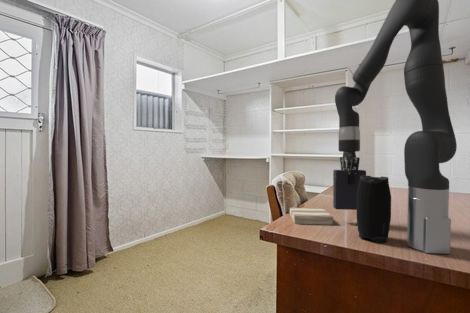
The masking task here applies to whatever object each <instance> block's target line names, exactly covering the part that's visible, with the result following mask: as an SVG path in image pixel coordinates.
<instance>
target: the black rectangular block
mask: <svg viewBox="0 0 470 313" xmlns="http://www.w3.org/2000/svg"><path fill="white" fill-rule="evenodd" d="M332 172H333V173H332V177H333V179H332V180H333V183H332V184H333V186H332V187H333V189H332V192H333V197H332V199H333V200H332V202H333V203H332V205H333V206H332V207H333V209H335V210H344V211H345V210H346V211H349V210H352V211H353V210H354V211H355V210H356V211H357V190H358V185H359V180H360V176H367V171H366V170H364V169H358V173H356V174H355V184H354V185H351V184H348V170H341V169H333V171H332Z"/></svg>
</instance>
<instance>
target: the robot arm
mask: <svg viewBox="0 0 470 313" xmlns="http://www.w3.org/2000/svg"><path fill="white" fill-rule="evenodd" d="M439 20H440V5H439V0H395V1H394V3H393V4H392V6H391V8H390V9H389V11H388V14H387V16H386V18H385V19H384V22H383V23H382V26H380V29H379V31H378V33H377V36H376V37H375V39H374V41H373V44H372V45H371V47H370V49H369V51H368V52H367V53H366V55H365V57H363V59H362V61H361V62H360V64H359V65H358V66H357V68H356V70H355V71H354V73H353V75H352V80H353V81H354V86H347V85H344V86H340V87H339V88H338V89H337V91H335V92H336V93H335V95H334V103H335V107H336V111H337V113H338V114H337V115H338V118H339V119H338V120H339V122H338V124H339V126H338V127H339V128H338V152H341V153H342V156H341V157H339V162H340V170H348V184H351V185H354V184H355V174H356V173H358V170H359V165H360V161H361V159H360V157H358V156H357V155H356V153H357V152H360V151H361V130H360V114H359V113H358V112H357V111H355V110H354V108H353V107H356V106H359V105H360V104H361V103H362V102H364V100H365V98H366V96H367V94H368V92H369V90H370V87H371V85H372V83H373V82H374V81H375V79H376V77H377V76H378V75H379V74H380V72H381V71H382V69H383V68H384V67H385V65H386V64H387V63H386V62H387V60H388V57H389V53H390V50H391V46H392V44H393V42H394V41H395V40H394V39H395V38H396V36H397V35H398V34H399V32H400V31H401V30H402V29H403V28H404V27H405V26H406V27H407V28H408V31H409V37H410V50H409V53H408V56H407V58H406V61H405V62H404V63H405V64H404V67H403V77H404V85H405V86H404V87H405V91H406V94H407V96H408V98H409V101H410V102H411V103H412V105H413V106H414V108H415V109H416V111H417V113H418V115H419V118H420V122H421V129H422V130H417V131H415V132H413V133H411V134H410V135H409V136H408V137H407V138H406V141H405V144H404V149H403V150H404V151H403V152H404V153H403V154H404V155H403V157H404V158H403V159H404V160H403V161H404V174H405V178H406V179H407V215H406V216H407V217H406V218H407V219H406V225H407V226H406V244H407V246H408V247H410V248H412V249H414V250H418V251H419V252H420V251H422V252H424V253H425V254H445V255H446V254H447V255H451V240H452V238H451V232H452V230H451V228H452V220H451V218H450V217H449V210H450V209H449V207H450V206H449V205H450V204H449V203H450V180H449V178H447V177H446V176H444V175H443V174H442V173H441V170H440V164H444V163H448V162H449V161H450V160H452V159H453V157H454V156H456V152H457V147H458V146H457V139H456V134H455V131H454V127H453V125H452V119H451V116H450V112H449V104H448V97H447V95H448V94H447V89H446V78H445V77H446V76H445V69H444V62H443V56H442V48H441V40H440V32H439V28H440V27H439V25H440V24H439V22H440V21H439Z"/></svg>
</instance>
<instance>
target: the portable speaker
mask: <svg viewBox="0 0 470 313" xmlns="http://www.w3.org/2000/svg"><path fill="white" fill-rule="evenodd" d="M389 183H390V182H389V176H383V175H382V176H380V177H379V176H378V177H377V176H371V175H366V176H360V180H359V185H358V190H357V210H356V223H357V230H358V237H359V238H360V239H361V240H364V239H369V240H372V241H373V242H374V243H376V244H384V243H386V242H387V239H388V238H389V232H390V227H391V220H392V195H391V194H392V193H391V188H390V184H389Z"/></svg>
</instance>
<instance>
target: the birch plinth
mask: <svg viewBox="0 0 470 313" xmlns="http://www.w3.org/2000/svg"><path fill="white" fill-rule="evenodd" d="M289 216H290V218H291V220H292V221H293V223H294V224H295V225H296V224H298V225H323V226H325V225H326V226H327V225H329V226H330V225H332V226H333V225H334V222H333V221H334V216H333V215H331V214H330V213H329V212H328V211H327V210H326V209H324V208H323V207H322V208H321V207H292V206H291V207H289Z"/></svg>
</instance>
